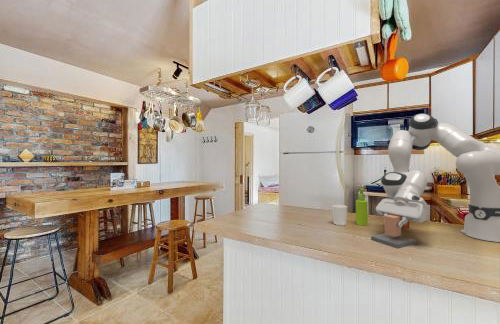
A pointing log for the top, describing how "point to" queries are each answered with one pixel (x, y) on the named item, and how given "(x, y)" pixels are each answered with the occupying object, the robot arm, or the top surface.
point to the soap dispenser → (361, 209)
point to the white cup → (339, 214)
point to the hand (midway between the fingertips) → (391, 224)
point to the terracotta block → (392, 225)
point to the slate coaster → (393, 240)
